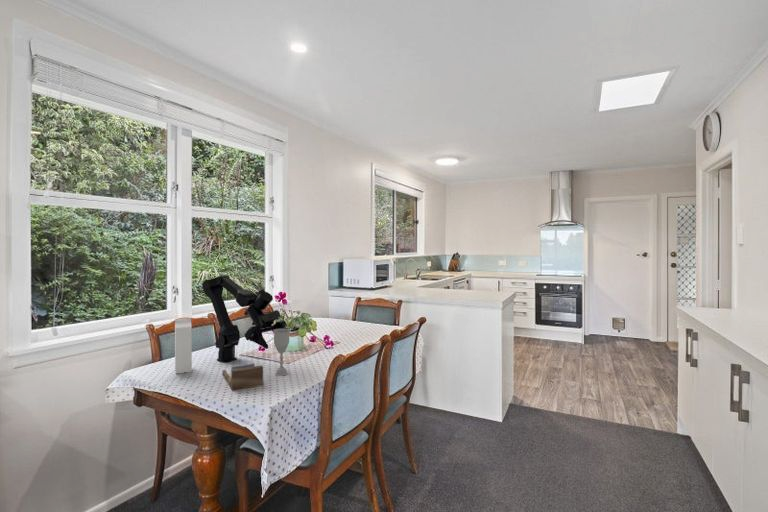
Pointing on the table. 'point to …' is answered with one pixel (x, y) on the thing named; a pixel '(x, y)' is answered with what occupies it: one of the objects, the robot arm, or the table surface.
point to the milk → (183, 345)
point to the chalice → (281, 347)
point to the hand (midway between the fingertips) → (276, 345)
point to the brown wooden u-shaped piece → (244, 377)
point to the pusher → (242, 366)
